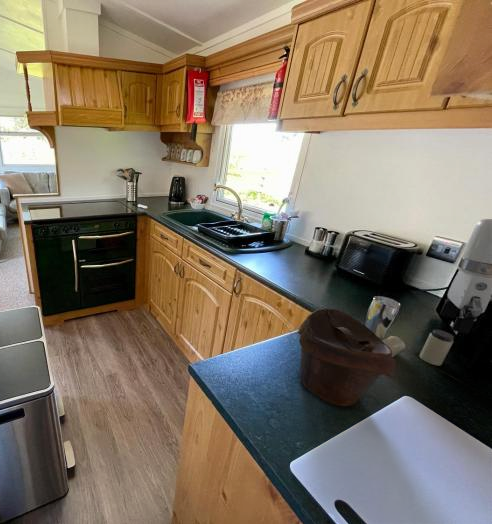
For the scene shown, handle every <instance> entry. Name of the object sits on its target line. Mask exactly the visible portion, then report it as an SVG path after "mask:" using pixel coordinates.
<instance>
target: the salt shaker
mask: <svg viewBox="0 0 492 524" xmlns="http://www.w3.org/2000/svg"><path fill="white" fill-rule="evenodd" d="M382 341H383V342H384V343H385V344H386V346H387V347H388V348H389V349H390V350H391V352H392V358H394V357H396V356H397V355H399V354H400V353H402V352H403V351H404V350H405V349H406V348H405V347H406V343H404V341H403V340H402V339H401V337H400V338H399V337H398V336H395V335H389V336H387V337H384V338H383V340H382Z"/></svg>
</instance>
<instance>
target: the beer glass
mask: <svg viewBox="0 0 492 524" xmlns="http://www.w3.org/2000/svg"><path fill="white" fill-rule="evenodd" d="M400 309H401V303H400V302H399V301H397V300H395V299H393V298H390V297H386V296H380V295H377V296H376V295H375V296H373V299H372V301H371V302H370V304H369V307H368V309H367V311H366V317H365V323H364V325H365V326H366V327H367V328H369V329H370V330H371V331H372V332H373V333H374V334H375V335H376V336H377V337H378V338H379V339H380V340H383V339H385V336H386V334H387V333H388V332H389V330H390V329H391V327H392V326H393V325H394V324H395V322H396V319H397V318H398V315H399V312H400Z"/></svg>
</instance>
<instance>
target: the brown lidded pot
mask: <svg viewBox="0 0 492 524" xmlns="http://www.w3.org/2000/svg"><path fill="white" fill-rule="evenodd" d="M297 334H298V335H299V339H298V343H299V345H300V347H301V350H300V351H301V355H300V375H299V377H300V380H301V383H302V385H303V386H304V388H306V389H307V390H308V391H309V392H311V393H312V394H313V395H314V396H317V397H318V398H320V399H321V400H323V401H325V402H327V403H330V404H332V405H336V406H340V407H349V406H353V405H354V404H356V403H357V402H358V401H359V400H360V398H361V397H362V396H363V395H364V394H365V393H366V392H367V391H368V390H369V388H370V387H371V386H372V385H373V384H374V383H375V382H376V381H377V379H378V378H379V377H380V376H381V375H382V376H385V377H389V378H391V379H392V380H394V371H395V366H396V360H395V358H394V357H393V358H392V352H391V350H390V349H389V348H388V347H387V346H386V344H385V343H384V342H383V341H382V340H380V339H379V338H378V337H377V336H376V335H375V334H374V333H373V332H372V331H371V330H370V329H369V328H367V327H366V326H365V323H362V322H361V321H360V320H358V319H357V318H355V317H353V316H351V315H350V314H348V313H346V312H344V311H341V310H339V309H335V308H329V307H325V308H320V309H319V308H318V309H316V310H315V311H313V312H311V313H310V314H308V315H307V317H306V318H305V319H304V320H303V322H302V323H301V324H300V326H299V328H298V330H297Z"/></svg>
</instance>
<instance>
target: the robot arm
mask: <svg viewBox="0 0 492 524" xmlns="http://www.w3.org/2000/svg"><path fill="white" fill-rule="evenodd" d="M456 269H457V270H458V272H457V273H456V276H455V277H454V279H453V280H452V282H451V285H450V287H449V289H448V292H447V298H446V299H444V300H445V301H444V303H443V306H442V308H441V310H440V313H439V315H440V317H446V318H450V319H455V321H454V322H453V325H452V327H451V330H452V331H454V332H459V333H462V334H466V335H468V334H469V333H470V332H471V330H472V328H473V326H474V324H475V322H477V319H478V318H479V317H480V315H481V314H483V313H485V311H486V309H487V307H488V304H489V302H490V300H491V298H492V218H484V219H480V220H478V222H476V224H475V225H474V228H473V230H472V233H471V234H470V237H469V239H468V241H467V244H466V246H465V249H464V251H463V253H462V256H461V258H460V259H459V262H458V264H457V266H456ZM458 312H459V316H457V315H458Z"/></svg>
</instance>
